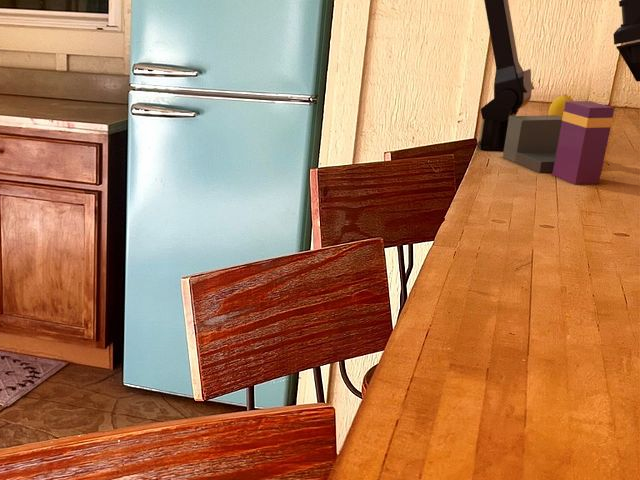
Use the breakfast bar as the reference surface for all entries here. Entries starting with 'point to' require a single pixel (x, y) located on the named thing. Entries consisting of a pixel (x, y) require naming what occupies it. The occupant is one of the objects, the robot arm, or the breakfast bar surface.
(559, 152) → the chocolate box
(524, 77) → the robot arm
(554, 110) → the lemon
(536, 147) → the grey l-shaped stand
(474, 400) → the breakfast bar surface
